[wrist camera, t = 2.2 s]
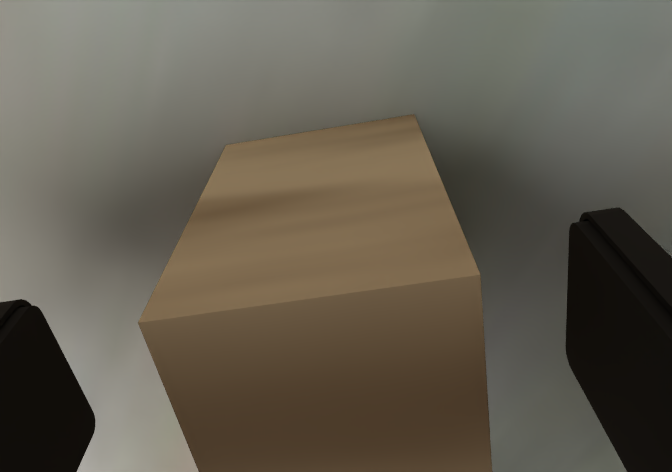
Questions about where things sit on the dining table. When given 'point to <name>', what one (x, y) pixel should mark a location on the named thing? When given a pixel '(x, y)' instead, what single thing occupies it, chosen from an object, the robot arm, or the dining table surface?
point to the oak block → (325, 311)
